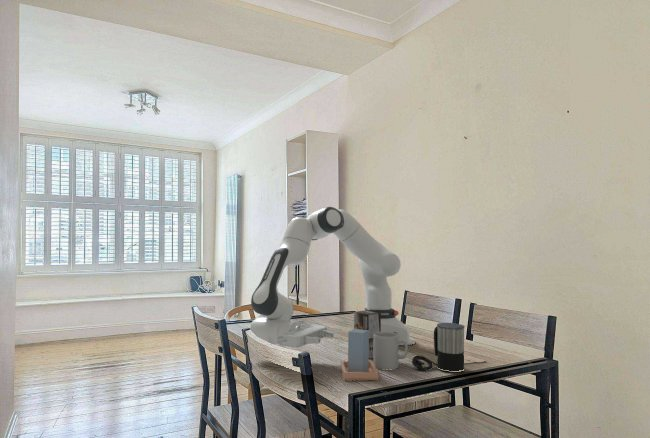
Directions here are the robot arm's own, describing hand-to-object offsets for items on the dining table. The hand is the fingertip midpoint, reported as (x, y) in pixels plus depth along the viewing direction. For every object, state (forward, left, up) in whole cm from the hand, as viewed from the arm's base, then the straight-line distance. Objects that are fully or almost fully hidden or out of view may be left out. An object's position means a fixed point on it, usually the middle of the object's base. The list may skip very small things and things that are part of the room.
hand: (326, 337), depth 149 cm
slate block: (-10, +6, -9) cm, 15 cm away
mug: (-22, -3, -11) cm, 25 cm away
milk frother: (-38, 0, -11) cm, 39 cm away
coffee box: (-16, -19, -11) cm, 27 cm away
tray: (-10, +6, -10) cm, 16 cm away
